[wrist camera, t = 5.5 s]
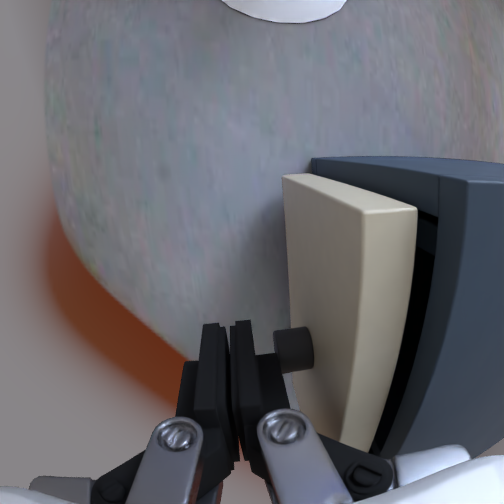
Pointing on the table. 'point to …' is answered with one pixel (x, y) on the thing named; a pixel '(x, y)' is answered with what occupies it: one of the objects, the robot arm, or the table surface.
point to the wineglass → (287, 9)
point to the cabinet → (448, 298)
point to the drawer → (353, 304)
